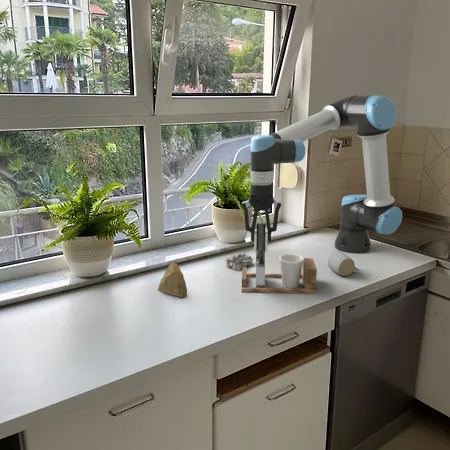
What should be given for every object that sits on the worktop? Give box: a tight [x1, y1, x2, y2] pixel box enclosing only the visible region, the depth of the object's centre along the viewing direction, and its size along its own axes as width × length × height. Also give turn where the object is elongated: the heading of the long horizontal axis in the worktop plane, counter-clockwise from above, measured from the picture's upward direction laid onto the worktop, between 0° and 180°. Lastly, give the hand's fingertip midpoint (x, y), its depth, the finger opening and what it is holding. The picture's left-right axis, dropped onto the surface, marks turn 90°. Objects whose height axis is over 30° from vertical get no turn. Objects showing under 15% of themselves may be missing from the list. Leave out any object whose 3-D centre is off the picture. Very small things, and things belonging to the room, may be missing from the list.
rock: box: [157, 261, 188, 298], centre depth 154 cm, size 11×9×10 cm
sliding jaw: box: [255, 222, 267, 288], centre depth 159 cm, size 3×10×22 cm, turn 177°
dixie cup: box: [278, 253, 305, 289], centre depth 160 cm, size 8×8×10 cm
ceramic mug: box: [326, 250, 359, 277], centre depth 171 cm, size 11×8×8 cm
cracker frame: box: [241, 257, 318, 294], centre depth 161 cm, size 25×14×8 cm, turn 87°
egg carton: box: [224, 252, 255, 271], centre depth 180 cm, size 11×8×4 cm
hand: (260, 250), depth 159 cm, fingers closed on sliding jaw, 3 cm apart
